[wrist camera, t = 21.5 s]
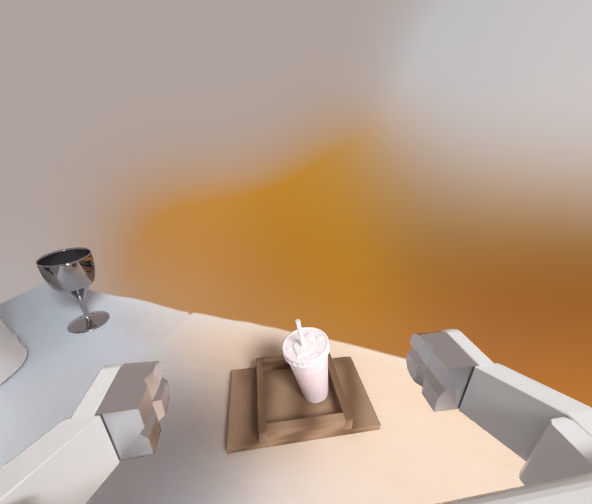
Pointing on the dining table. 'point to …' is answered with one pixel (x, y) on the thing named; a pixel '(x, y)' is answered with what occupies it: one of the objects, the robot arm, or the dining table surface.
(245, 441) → the tray
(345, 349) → the dining table surface
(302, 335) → the smoothie
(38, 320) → the dining table surface
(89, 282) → the wine glass
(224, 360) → the dining table surface
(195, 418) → the dining table surface
